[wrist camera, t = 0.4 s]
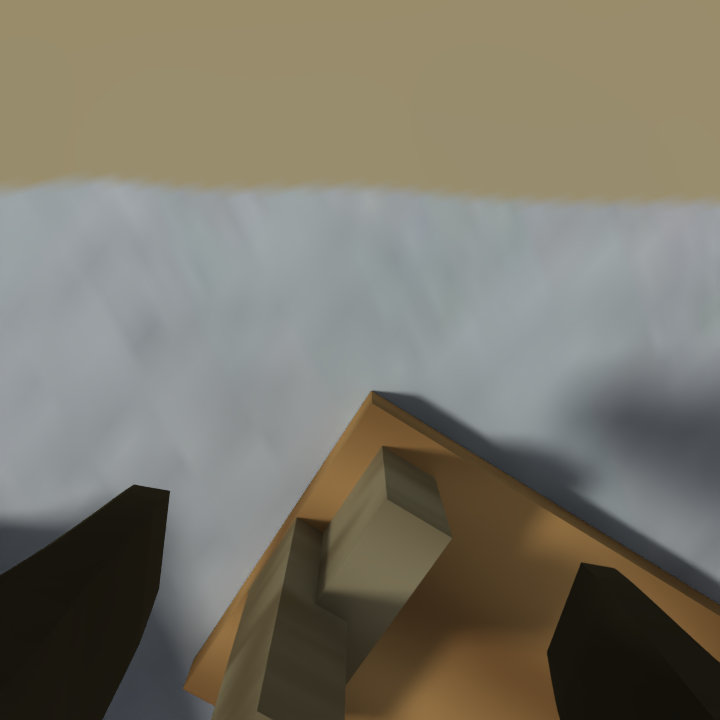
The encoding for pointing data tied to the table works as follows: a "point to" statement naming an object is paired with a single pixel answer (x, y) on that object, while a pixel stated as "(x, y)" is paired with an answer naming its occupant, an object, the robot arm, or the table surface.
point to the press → (414, 590)
